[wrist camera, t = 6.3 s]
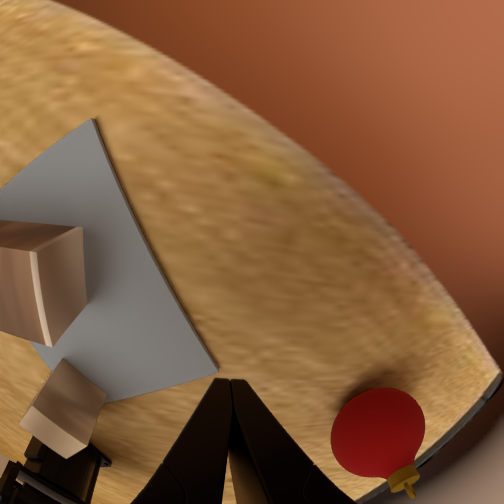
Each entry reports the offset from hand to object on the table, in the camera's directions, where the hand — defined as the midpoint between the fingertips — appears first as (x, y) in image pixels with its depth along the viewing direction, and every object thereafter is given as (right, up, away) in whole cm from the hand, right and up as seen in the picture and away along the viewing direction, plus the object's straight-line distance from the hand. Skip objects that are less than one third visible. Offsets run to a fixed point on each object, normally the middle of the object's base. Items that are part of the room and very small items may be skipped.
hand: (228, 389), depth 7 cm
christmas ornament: (+9, -8, +12) cm, 17 cm away
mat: (-10, +1, +7) cm, 12 cm away
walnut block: (-8, +2, +4) cm, 10 cm away
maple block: (-12, -6, +9) cm, 16 cm away
